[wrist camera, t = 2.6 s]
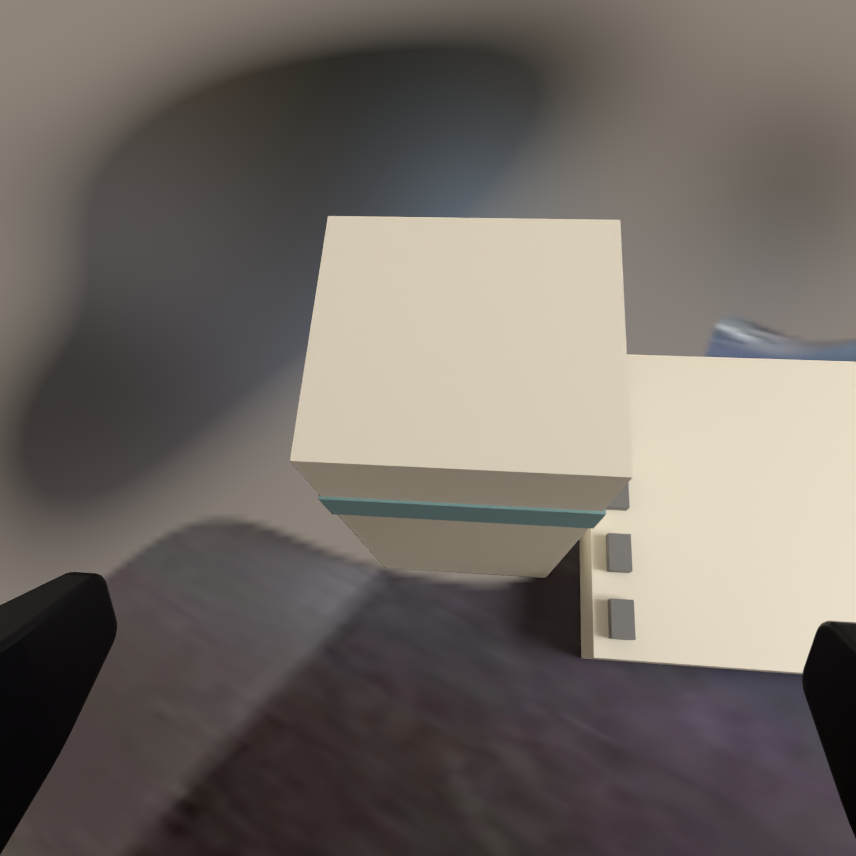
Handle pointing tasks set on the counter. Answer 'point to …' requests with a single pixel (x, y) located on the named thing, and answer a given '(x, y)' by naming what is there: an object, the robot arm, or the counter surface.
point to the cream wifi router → (727, 516)
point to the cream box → (467, 388)
